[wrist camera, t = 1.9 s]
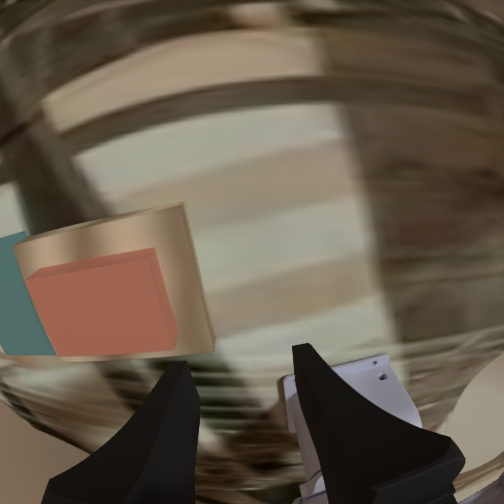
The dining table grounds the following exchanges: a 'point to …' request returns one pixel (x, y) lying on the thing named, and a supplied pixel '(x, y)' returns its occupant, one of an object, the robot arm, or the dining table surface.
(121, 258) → the pink rubber eraser
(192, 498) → the robot arm
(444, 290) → the dining table surface
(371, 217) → the dining table surface
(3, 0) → the dining table surface
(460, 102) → the dining table surface
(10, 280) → the mat
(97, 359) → the block
